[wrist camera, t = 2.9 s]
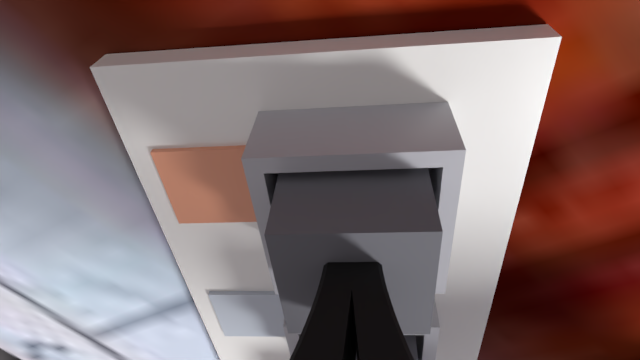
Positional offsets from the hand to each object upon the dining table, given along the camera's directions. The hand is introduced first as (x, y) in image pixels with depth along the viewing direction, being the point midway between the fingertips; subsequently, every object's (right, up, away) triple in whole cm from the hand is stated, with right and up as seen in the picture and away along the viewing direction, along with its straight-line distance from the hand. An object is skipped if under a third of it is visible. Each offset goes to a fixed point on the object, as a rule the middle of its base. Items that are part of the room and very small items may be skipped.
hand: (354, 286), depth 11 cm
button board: (0, -3, +9) cm, 9 cm away
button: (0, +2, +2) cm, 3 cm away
